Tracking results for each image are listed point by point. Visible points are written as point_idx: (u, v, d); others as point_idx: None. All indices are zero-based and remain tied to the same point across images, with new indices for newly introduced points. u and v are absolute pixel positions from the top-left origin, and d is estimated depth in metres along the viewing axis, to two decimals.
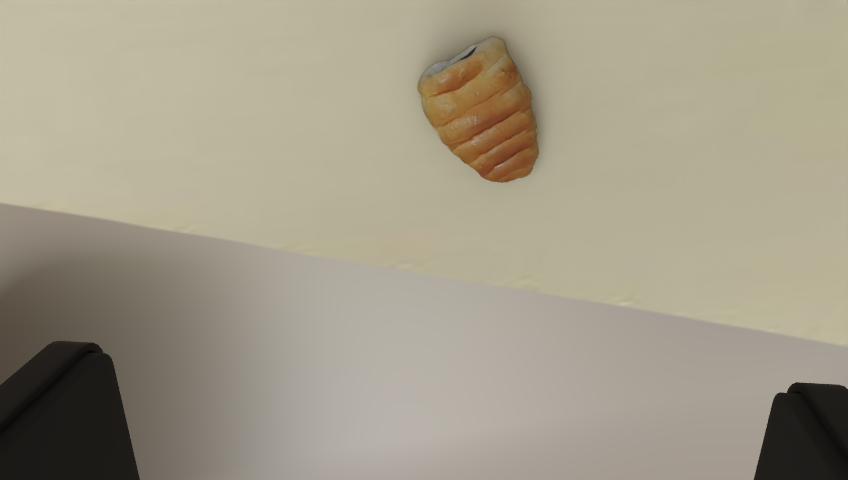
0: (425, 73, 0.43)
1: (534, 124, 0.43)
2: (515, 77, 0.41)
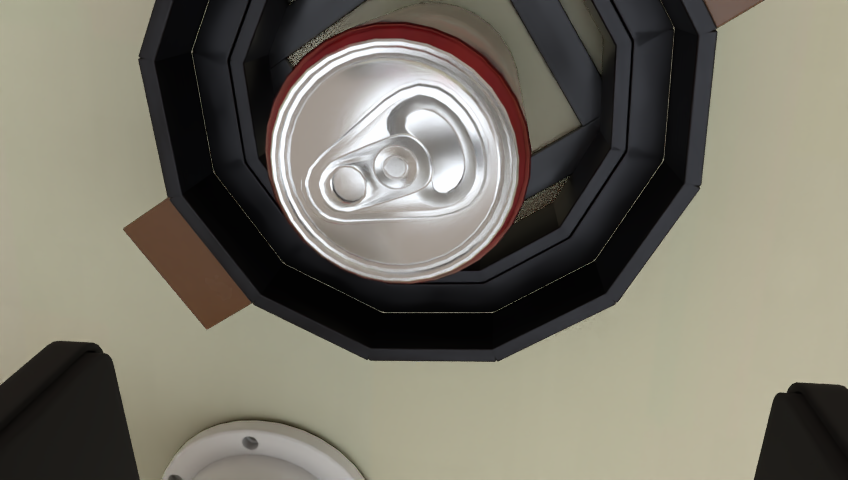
0: None
1: None
2: None
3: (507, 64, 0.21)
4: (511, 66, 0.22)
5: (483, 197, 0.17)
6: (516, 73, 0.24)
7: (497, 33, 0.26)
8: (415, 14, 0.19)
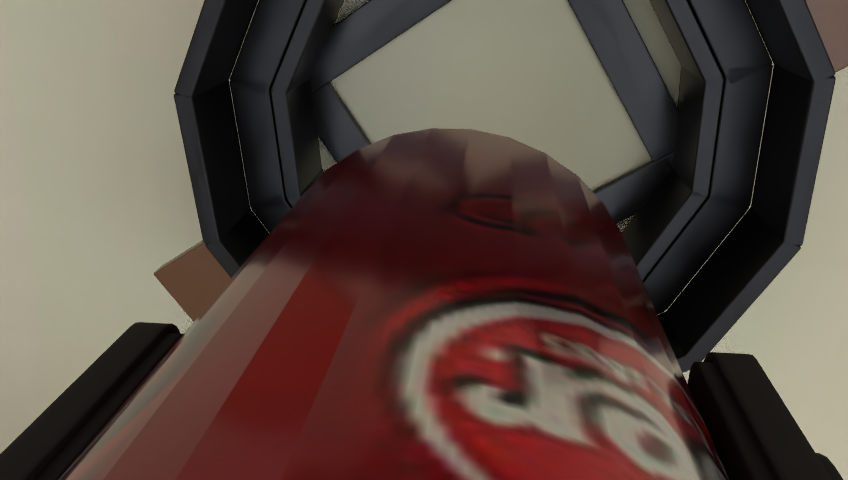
0: None
1: None
2: None
3: (714, 457, 0.06)
4: (692, 399, 0.07)
5: None
6: None
7: (598, 202, 0.12)
8: (412, 370, 0.05)
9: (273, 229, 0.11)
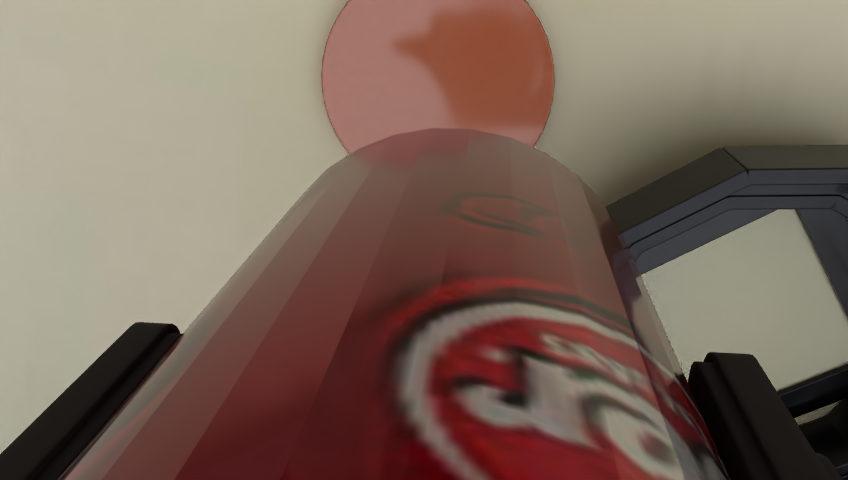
0: None
1: None
2: None
3: (715, 458, 0.06)
4: (694, 400, 0.07)
5: None
6: None
7: (599, 202, 0.12)
8: (412, 371, 0.05)
9: (273, 229, 0.11)
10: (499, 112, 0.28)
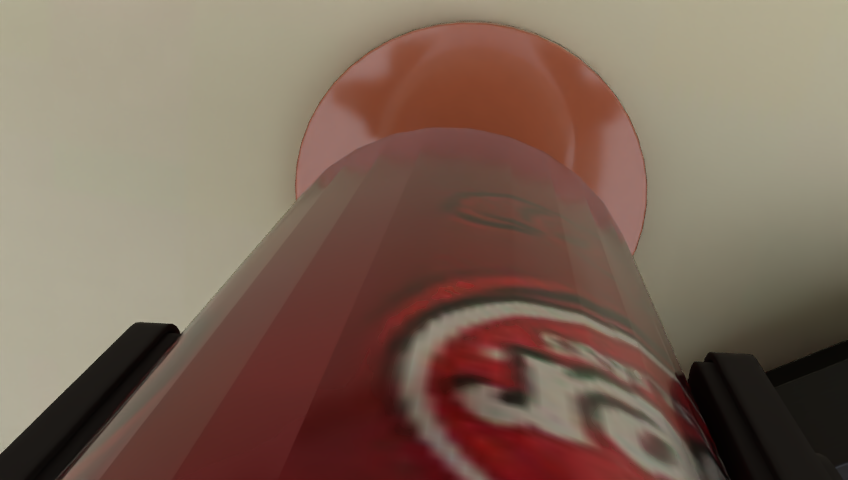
0: None
1: None
2: None
3: (715, 457, 0.06)
4: (694, 399, 0.07)
5: None
6: None
7: (599, 201, 0.12)
8: (411, 369, 0.05)
9: (272, 228, 0.11)
10: None
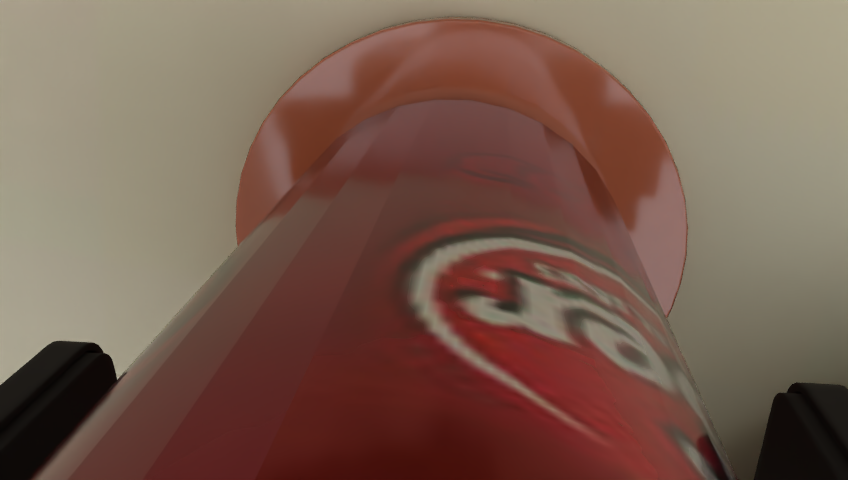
0: None
1: None
2: None
3: (688, 377, 0.07)
4: (672, 334, 0.08)
5: None
6: None
7: (591, 168, 0.12)
8: (420, 284, 0.06)
9: (286, 192, 0.11)
10: None
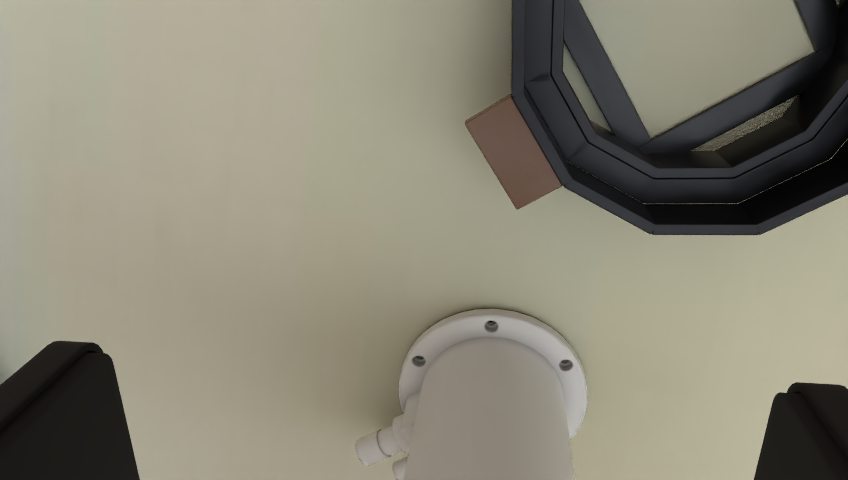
0: None
1: None
2: None
3: None
4: None
5: None
6: None
7: None
8: None
9: None
10: None
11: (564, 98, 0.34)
